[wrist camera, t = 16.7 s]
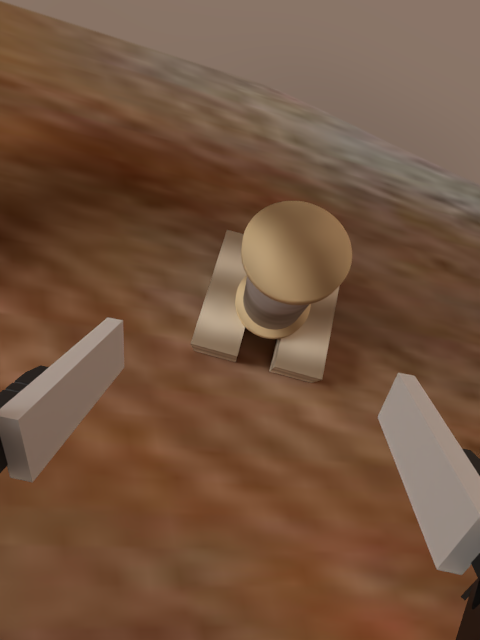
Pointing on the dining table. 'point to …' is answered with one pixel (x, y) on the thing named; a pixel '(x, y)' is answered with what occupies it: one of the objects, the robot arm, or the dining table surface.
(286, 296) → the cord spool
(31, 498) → the dining table surface
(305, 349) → the slotted stand
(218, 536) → the dining table surface
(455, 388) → the dining table surface
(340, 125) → the dining table surface
